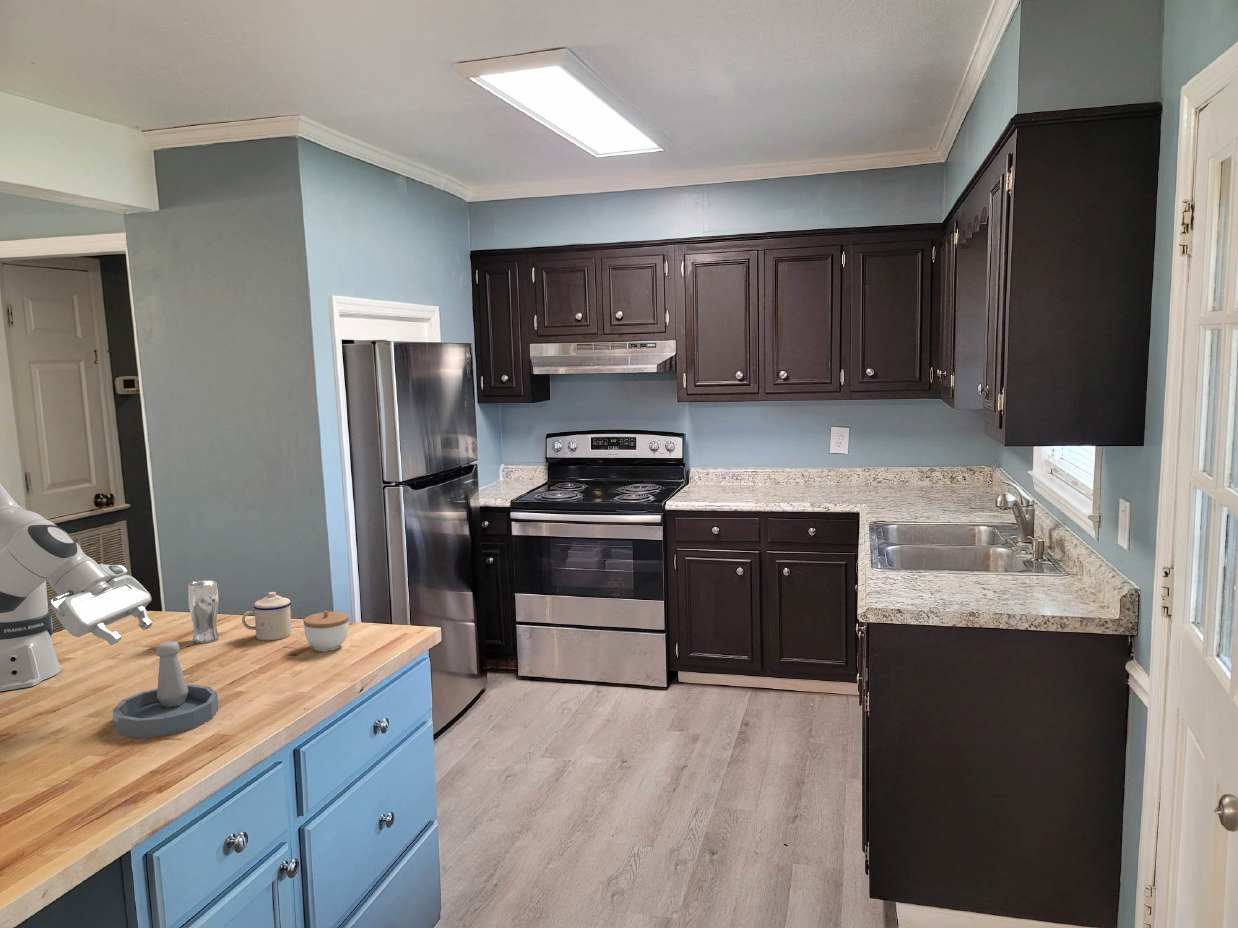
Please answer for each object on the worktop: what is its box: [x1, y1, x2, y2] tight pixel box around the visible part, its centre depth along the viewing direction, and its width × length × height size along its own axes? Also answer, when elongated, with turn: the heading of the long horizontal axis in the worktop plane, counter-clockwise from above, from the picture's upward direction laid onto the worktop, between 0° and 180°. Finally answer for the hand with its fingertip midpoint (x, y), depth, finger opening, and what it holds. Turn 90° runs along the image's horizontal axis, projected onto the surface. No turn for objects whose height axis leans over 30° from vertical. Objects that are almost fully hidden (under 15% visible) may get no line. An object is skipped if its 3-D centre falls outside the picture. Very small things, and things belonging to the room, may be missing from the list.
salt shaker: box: [155, 640, 188, 708], centre depth 176 cm, size 6×6×13 cm
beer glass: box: [187, 579, 220, 644], centre depth 221 cm, size 7×7×15 cm
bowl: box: [112, 684, 219, 739], centre depth 172 cm, size 18×18×4 cm
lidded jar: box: [303, 610, 350, 652], centre depth 215 cm, size 11×11×9 cm
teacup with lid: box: [241, 591, 292, 642], centre depth 223 cm, size 12×9×12 cm
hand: (133, 634), depth 172 cm, fingers open, 8 cm apart
